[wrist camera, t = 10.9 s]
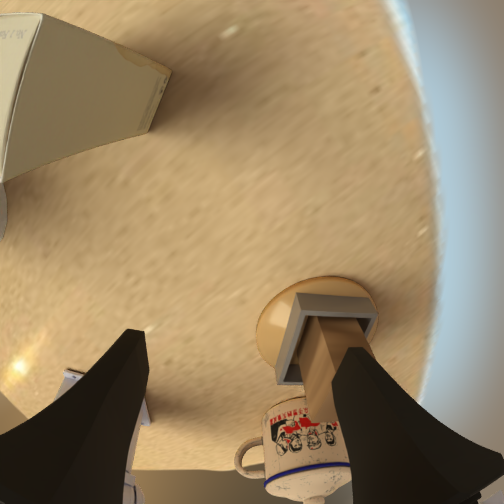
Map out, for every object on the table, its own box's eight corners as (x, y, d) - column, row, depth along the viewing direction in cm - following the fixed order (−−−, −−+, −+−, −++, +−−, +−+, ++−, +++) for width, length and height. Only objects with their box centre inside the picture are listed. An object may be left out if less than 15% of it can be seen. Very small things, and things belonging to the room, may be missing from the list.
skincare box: (174, 70, 14) (58, 5, 3) (146, 137, 16) (5, 190, 5) (89, 50, 13) (-57, 20, 2) (67, 113, 14) (-86, 145, 3)
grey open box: (248, 366, 24) (249, 391, 22) (267, 270, 20) (271, 293, 18) (351, 368, 25) (359, 390, 23) (391, 281, 21) (407, 301, 18)
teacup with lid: (341, 386, 27) (370, 484, 16) (335, 425, 31) (354, 504, 20) (226, 403, 27) (225, 506, 17) (241, 439, 31) (243, 520, 21)
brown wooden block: (296, 351, 23) (311, 423, 16) (312, 302, 20) (337, 377, 14) (330, 352, 23) (351, 420, 17) (349, 305, 21) (382, 374, 14)
